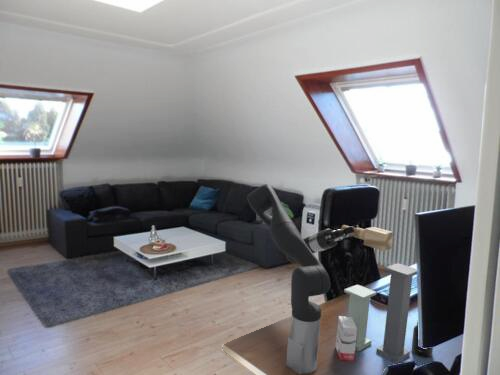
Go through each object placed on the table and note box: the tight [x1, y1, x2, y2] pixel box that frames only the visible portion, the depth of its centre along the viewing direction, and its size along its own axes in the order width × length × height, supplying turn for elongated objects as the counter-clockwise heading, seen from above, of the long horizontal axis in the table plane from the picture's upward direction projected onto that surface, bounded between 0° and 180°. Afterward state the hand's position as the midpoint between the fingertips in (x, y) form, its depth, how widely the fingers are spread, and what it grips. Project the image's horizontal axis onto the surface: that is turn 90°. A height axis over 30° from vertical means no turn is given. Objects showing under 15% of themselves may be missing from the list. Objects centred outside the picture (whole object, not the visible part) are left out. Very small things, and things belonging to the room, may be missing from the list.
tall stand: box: [376, 262, 418, 364], centre depth 134 cm, size 8×8×31 cm
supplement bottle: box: [411, 321, 434, 358], centre depth 137 cm, size 7×7×12 cm
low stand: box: [343, 284, 377, 352], centre depth 141 cm, size 8×8×20 cm
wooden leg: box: [340, 224, 394, 252], centre depth 142 cm, size 5×19×6 cm, turn 40°
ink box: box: [335, 315, 357, 362], centre depth 134 cm, size 8×5×12 cm, turn 178°
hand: (355, 228), depth 145 cm, fingers closed on wooden leg, 3 cm apart
